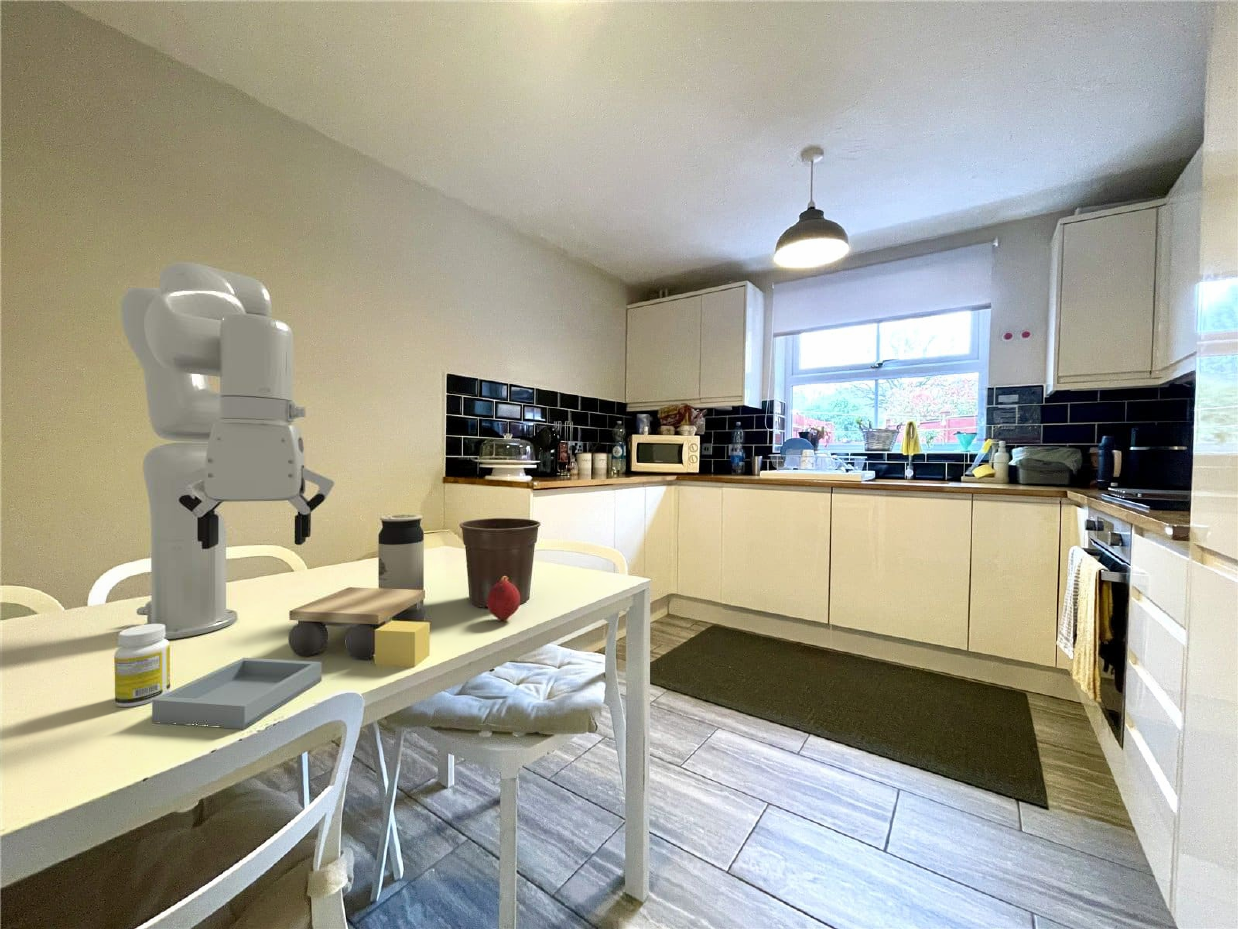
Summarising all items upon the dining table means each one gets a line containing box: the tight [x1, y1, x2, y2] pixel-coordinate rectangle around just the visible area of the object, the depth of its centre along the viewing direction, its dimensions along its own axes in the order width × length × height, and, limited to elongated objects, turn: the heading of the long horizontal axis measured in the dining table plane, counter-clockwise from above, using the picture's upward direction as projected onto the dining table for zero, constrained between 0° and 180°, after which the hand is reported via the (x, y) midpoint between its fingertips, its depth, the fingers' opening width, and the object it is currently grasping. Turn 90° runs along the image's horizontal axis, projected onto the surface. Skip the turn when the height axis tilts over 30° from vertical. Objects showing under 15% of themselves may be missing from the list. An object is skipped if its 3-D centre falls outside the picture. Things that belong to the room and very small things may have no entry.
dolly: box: [288, 586, 427, 661], centre depth 75 cm, size 14×13×7 cm
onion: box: [486, 576, 521, 622], centre depth 85 cm, size 6×6×8 cm
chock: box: [374, 620, 431, 668], centre depth 69 cm, size 6×4×5 cm, turn 84°
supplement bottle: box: [113, 624, 171, 708], centre depth 57 cm, size 5×5×8 cm
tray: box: [151, 657, 322, 730], centre depth 57 cm, size 11×11×2 cm
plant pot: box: [459, 517, 542, 609], centre depth 98 cm, size 16×16×16 cm
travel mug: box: [377, 513, 425, 606], centre depth 92 cm, size 8×8×18 cm
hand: (256, 545), depth 62 cm, fingers open, 9 cm apart
